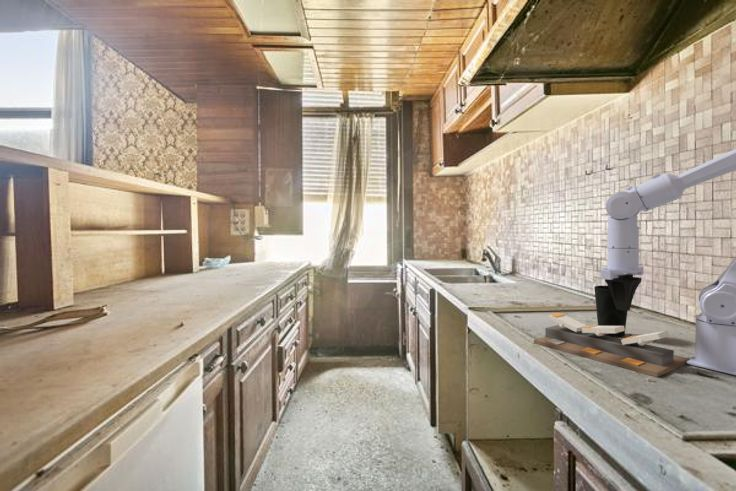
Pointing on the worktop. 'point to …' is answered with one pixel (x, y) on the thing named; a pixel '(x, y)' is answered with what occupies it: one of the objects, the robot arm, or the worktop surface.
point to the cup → (609, 310)
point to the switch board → (615, 358)
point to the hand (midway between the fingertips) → (622, 309)
